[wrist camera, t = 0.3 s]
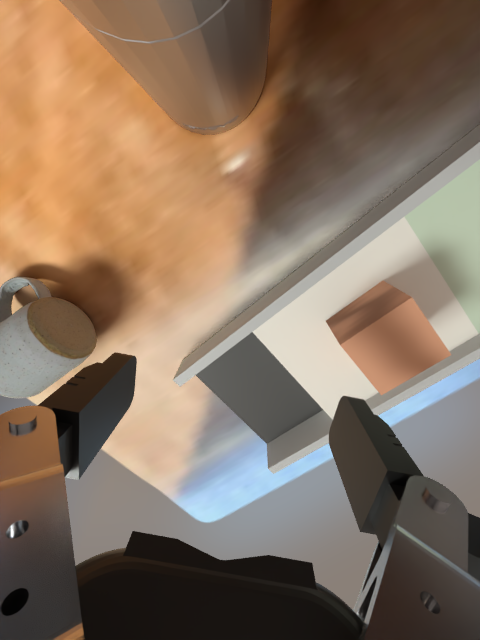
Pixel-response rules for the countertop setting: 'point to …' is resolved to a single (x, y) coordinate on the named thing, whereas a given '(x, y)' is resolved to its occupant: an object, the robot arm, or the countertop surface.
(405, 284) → the trap channel
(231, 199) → the countertop surface
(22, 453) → the robot arm
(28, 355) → the ceramic mug
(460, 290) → the pad
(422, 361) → the block
